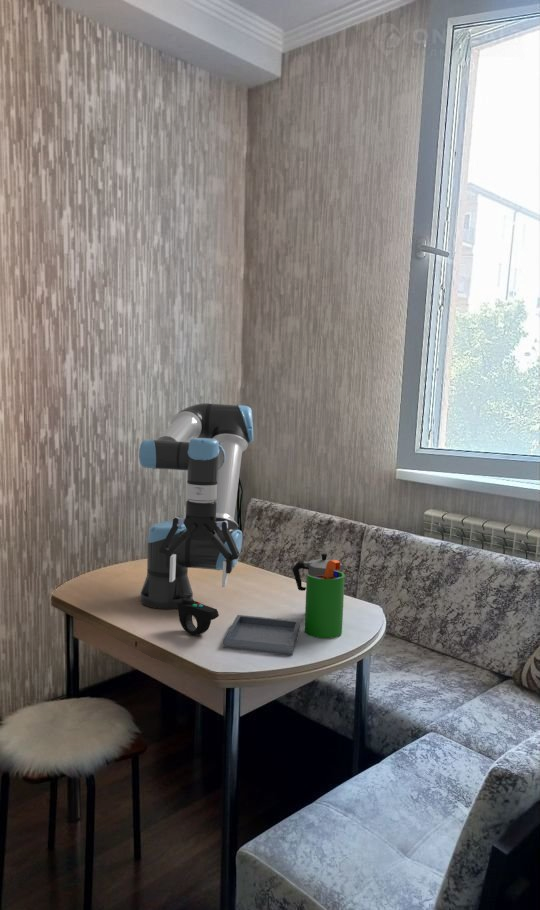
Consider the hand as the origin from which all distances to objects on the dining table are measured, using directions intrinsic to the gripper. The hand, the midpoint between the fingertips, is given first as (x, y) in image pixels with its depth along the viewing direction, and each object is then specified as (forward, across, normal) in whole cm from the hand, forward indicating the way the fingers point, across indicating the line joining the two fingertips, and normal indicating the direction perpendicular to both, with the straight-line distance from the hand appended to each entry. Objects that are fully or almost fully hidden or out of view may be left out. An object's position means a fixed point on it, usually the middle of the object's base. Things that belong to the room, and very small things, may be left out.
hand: (198, 583), depth 174 cm
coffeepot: (+14, +29, +24) cm, 40 cm away
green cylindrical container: (+14, +32, +12) cm, 37 cm away
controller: (+14, 0, 0) cm, 14 cm away
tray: (+14, +17, +2) cm, 22 cm away
